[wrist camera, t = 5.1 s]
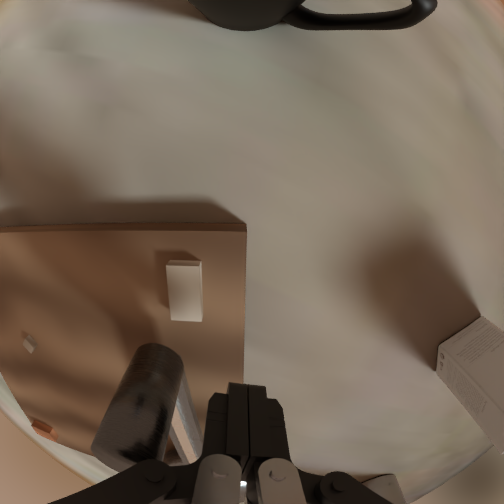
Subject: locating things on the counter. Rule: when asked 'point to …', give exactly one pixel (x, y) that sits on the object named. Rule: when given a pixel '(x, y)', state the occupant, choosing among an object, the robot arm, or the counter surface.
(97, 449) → the crank handle
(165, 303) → the board
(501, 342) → the skincare box
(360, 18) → the mug
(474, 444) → the counter surface
